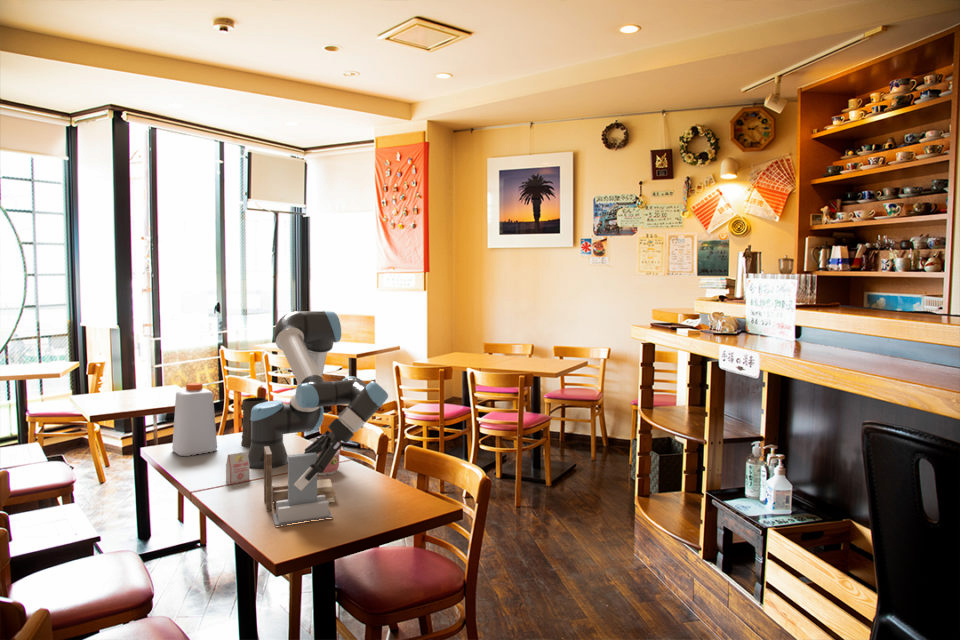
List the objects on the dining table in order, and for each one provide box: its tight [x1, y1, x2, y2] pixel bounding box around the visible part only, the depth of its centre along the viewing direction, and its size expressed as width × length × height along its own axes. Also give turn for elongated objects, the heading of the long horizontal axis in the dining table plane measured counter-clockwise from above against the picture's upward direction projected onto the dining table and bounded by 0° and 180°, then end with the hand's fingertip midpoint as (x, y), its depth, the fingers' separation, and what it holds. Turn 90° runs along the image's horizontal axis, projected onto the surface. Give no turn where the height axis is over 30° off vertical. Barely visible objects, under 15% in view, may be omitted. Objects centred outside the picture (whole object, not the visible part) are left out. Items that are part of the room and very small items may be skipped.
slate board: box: [287, 452, 318, 506], centre depth 171 cm, size 8×2×18 cm, turn 115°
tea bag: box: [225, 451, 251, 485], centre depth 203 cm, size 4×7×10 cm, turn 133°
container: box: [317, 448, 341, 476], centre depth 215 cm, size 10×10×8 cm
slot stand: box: [271, 495, 334, 527], centre depth 171 cm, size 16×9×5 cm, turn 115°
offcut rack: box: [263, 446, 336, 511], centre depth 184 cm, size 21×10×18 cm, turn 115°
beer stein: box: [240, 397, 267, 448], centre depth 250 cm, size 15×11×20 cm
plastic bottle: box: [171, 382, 218, 457], centre depth 239 cm, size 15×15×28 cm
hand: (294, 480), depth 170 cm, fingers open, 13 cm apart
